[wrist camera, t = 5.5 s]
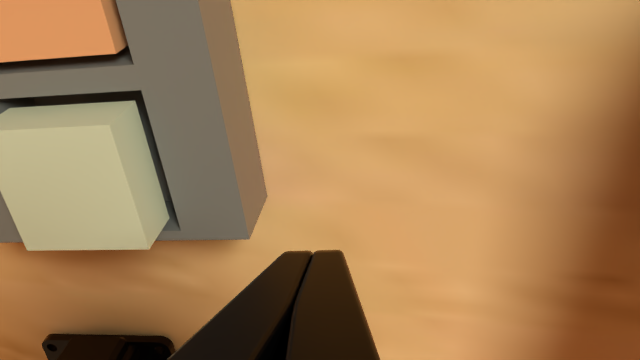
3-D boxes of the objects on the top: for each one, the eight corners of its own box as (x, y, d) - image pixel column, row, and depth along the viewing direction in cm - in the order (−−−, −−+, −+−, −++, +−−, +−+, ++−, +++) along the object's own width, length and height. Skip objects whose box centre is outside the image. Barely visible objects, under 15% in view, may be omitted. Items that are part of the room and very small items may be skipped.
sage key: (169, 218, 20) (149, 249, 19) (55, 220, 21) (27, 250, 20) (135, 100, 18) (108, 124, 17) (9, 107, 19) (-27, 131, 17)
